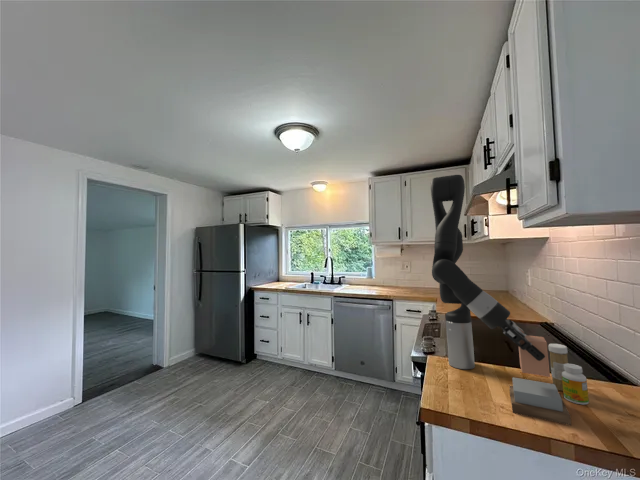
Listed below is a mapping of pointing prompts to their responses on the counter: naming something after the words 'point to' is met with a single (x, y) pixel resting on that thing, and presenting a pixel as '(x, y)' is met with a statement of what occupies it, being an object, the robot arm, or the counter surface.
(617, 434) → the counter surface
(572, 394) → the supplement bottle
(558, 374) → the sprinkles bottle
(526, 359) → the terracotta block
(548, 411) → the walnut slab
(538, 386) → the grey slab
